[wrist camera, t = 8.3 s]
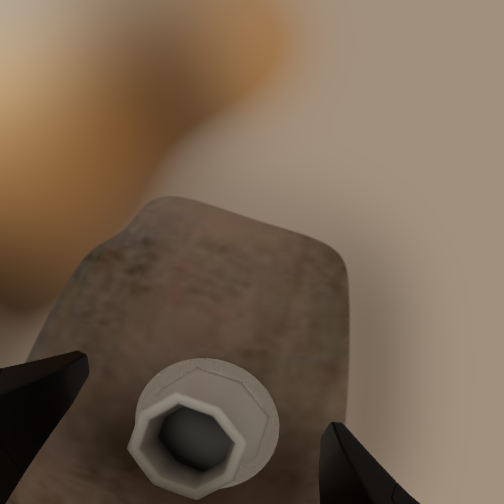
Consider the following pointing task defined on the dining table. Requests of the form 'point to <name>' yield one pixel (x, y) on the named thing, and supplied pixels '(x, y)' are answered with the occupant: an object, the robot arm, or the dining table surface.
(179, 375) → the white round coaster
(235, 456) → the flask
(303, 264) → the dining table surface
